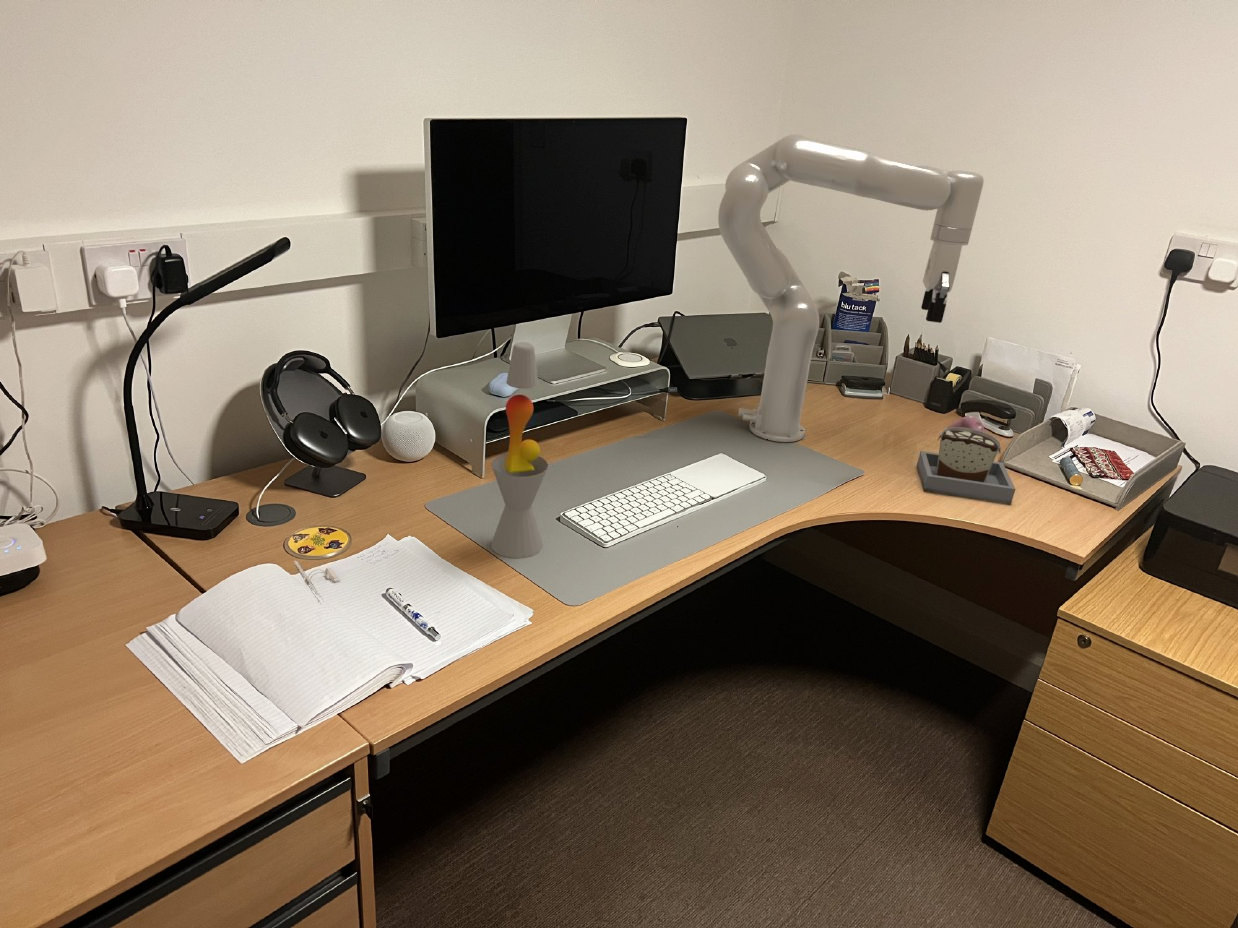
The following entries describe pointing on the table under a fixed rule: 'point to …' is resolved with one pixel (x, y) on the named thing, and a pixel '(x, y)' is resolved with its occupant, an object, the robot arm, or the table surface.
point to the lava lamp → (519, 465)
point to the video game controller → (969, 423)
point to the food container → (966, 454)
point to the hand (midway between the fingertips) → (931, 315)
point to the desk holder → (966, 482)
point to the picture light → (329, 571)
